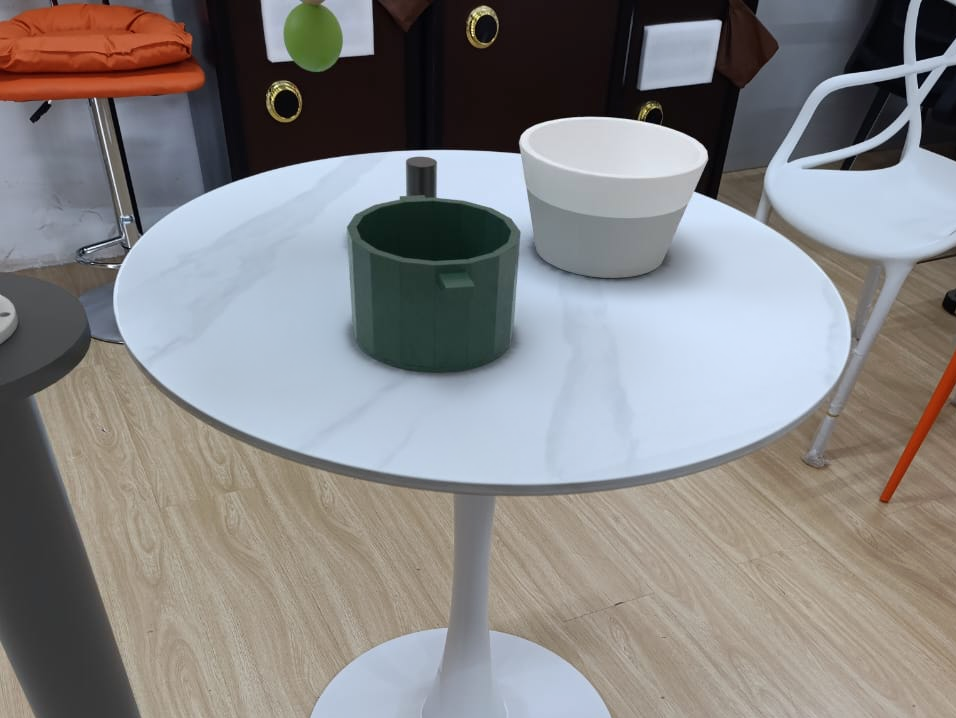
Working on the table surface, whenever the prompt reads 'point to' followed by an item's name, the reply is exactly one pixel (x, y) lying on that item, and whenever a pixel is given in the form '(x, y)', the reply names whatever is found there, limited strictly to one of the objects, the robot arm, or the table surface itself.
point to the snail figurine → (313, 36)
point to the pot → (433, 283)
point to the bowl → (607, 192)
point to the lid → (421, 177)
